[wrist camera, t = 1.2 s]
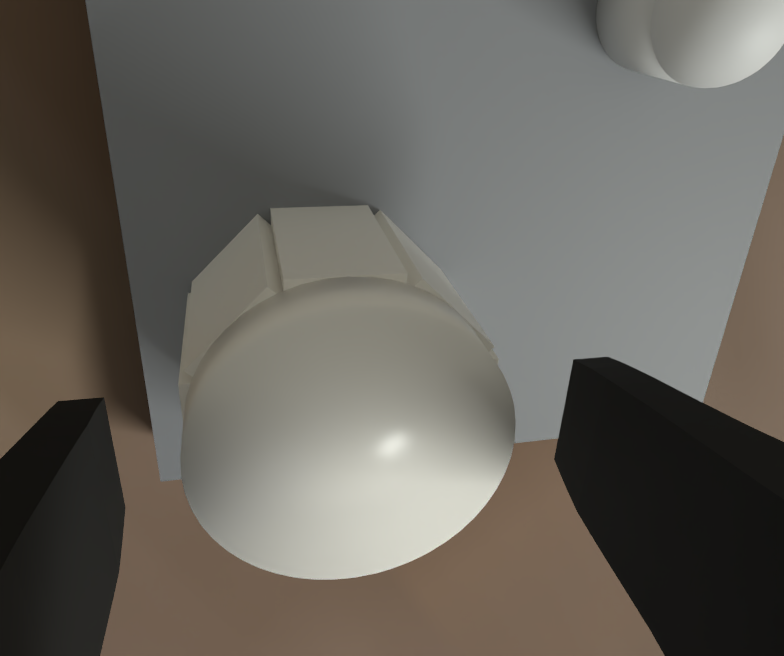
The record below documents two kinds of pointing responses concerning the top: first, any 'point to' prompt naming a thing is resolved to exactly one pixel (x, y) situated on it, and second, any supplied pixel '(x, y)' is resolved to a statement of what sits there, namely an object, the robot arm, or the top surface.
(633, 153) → the board
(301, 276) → the cap
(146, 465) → the top surface
